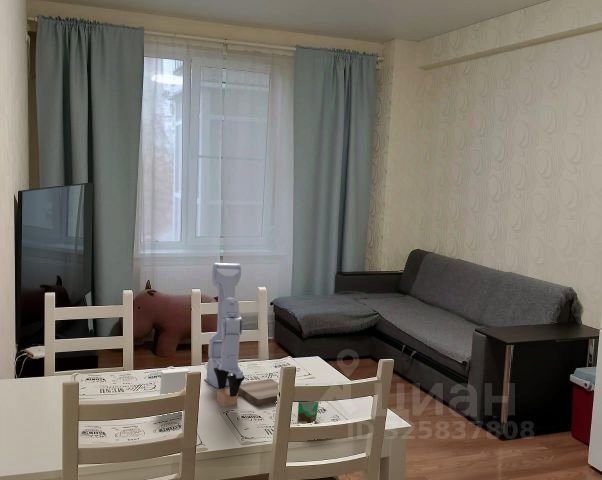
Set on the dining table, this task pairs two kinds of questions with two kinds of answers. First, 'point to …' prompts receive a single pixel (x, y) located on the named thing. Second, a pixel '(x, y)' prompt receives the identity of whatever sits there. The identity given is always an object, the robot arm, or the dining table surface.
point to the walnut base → (260, 392)
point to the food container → (307, 412)
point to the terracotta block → (226, 397)
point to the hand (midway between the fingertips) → (227, 392)
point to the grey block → (173, 380)
